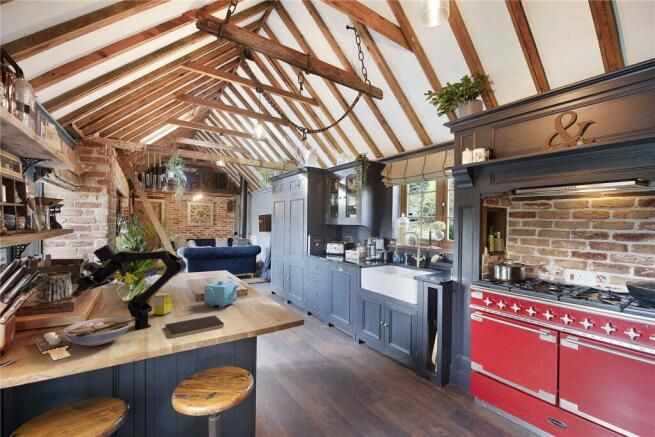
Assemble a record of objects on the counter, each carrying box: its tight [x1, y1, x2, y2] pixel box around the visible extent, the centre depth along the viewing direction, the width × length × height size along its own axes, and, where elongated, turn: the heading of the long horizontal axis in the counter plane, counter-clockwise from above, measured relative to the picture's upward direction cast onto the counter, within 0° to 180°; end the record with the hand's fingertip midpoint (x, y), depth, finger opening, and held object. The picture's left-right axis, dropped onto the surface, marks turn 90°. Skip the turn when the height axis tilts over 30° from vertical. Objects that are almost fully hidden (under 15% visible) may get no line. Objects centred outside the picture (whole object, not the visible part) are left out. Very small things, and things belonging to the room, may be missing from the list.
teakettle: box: [203, 279, 241, 309], centre depth 179 cm, size 19×19×15 cm
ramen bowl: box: [63, 316, 139, 347], centre depth 123 cm, size 25×23×8 cm
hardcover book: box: [164, 315, 225, 339], centre depth 142 cm, size 16×23×2 cm
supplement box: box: [153, 292, 172, 317], centre depth 162 cm, size 6×6×11 cm
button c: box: [43, 331, 56, 340], centre depth 124 cm, size 3×3×2 cm
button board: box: [34, 332, 71, 352], centre depth 121 cm, size 17×8×2 cm, turn 52°
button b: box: [46, 335, 58, 343], centre depth 121 cm, size 3×3×2 cm
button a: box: [49, 338, 61, 346], centre depth 118 cm, size 3×3×2 cm
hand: (82, 291), depth 141 cm, fingers open, 9 cm apart
